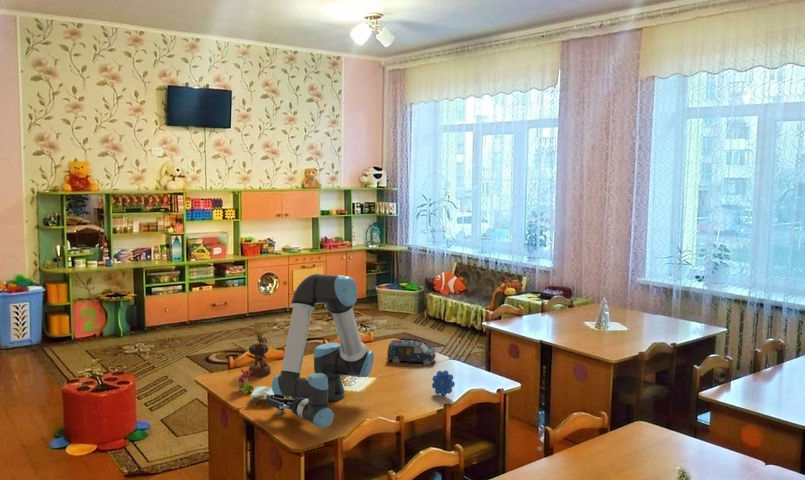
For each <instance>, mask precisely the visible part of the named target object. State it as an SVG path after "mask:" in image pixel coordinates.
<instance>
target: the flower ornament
mask: <svg viewBox="0 0 805 480" xmlns="http://www.w3.org/2000/svg"><path fill="white" fill-rule="evenodd" d="M241 372H242V374H240V375H239V376H237V379H236V386H237V389H238V392H242V393H243V394H244V395H246V393H247V392H251V391H252V392H253V391H254V389H255V388H254V386H253V385H252V384H249V381H248V378H250V377H251V376H249V374H250V373H251V372H252V371H249V369H246V370H245V369H243V368H241Z"/></svg>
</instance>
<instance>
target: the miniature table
mask: <svg viewBox="0 0 805 480" xmlns="http://www.w3.org/2000/svg"><path fill="white" fill-rule="evenodd" d="M253 389H254V391H253V390H252V393H251V394H250V398H252V405H253V406H257V405H258V399H261V398H263V399H265V398H264V392H265V391H266V392H268V393H270V394H272V395H274V394H275V393H273V391H272V385H270V386H265V385H264V386H255V388H253Z"/></svg>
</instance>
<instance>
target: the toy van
mask: <svg viewBox="0 0 805 480" xmlns="http://www.w3.org/2000/svg"><path fill="white" fill-rule="evenodd" d="M387 348H388V349H387V352H386V354H387V357H386V359H387V360H389V361H391V360H392V363H394V364H395V363H396V364H399V363H400V362H403V361H404V362H418V363H419V362H420V363H423V365H424V366H430V365H431V364H432V363H433V362H434V361H435V359H436V351H437V350H436V349H435V348H432V347H431V348H429V347H428V346H427V345H426V344H425V343H424V342H423V341H416V340H407V339H405V340H404V339H402V340H400V339H393V340H391V341H390V343H389V344H388V347H387Z"/></svg>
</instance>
